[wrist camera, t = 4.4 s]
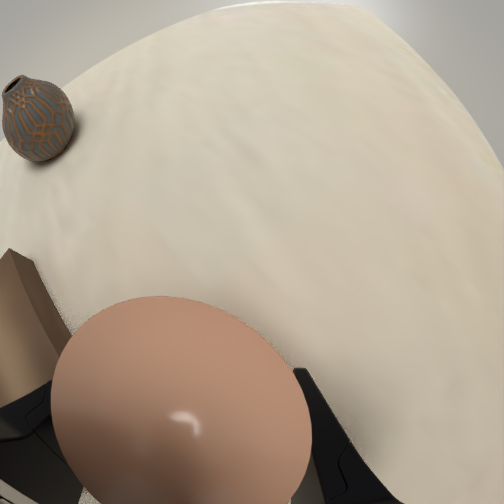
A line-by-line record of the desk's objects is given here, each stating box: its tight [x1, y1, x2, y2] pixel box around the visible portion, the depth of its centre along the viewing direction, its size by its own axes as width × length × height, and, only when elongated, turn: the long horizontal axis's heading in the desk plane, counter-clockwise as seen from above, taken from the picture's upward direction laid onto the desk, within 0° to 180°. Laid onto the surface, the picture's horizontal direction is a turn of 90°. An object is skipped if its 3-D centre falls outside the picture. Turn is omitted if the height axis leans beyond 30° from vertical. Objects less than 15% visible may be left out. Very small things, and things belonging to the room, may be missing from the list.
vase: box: [2, 75, 74, 161], centre depth 18 cm, size 7×7×9 cm
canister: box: [51, 296, 312, 504], centre depth 10 cm, size 6×6×11 cm
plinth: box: [0, 248, 87, 493], centre depth 12 cm, size 16×16×3 cm
